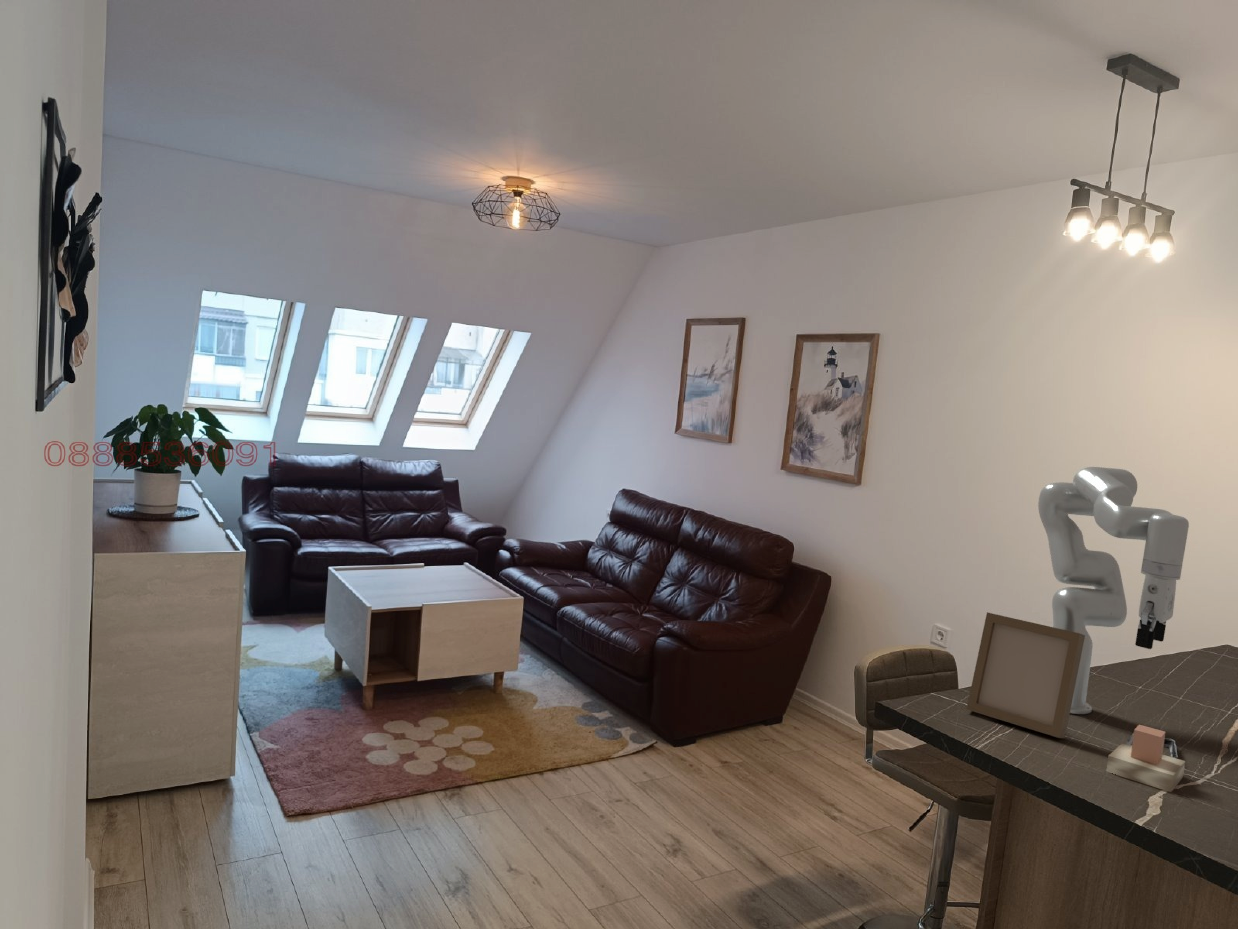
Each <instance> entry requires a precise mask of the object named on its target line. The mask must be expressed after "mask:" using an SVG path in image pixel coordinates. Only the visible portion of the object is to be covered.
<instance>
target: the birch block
mask: <svg viewBox="0 0 1238 929" xmlns="http://www.w3.org/2000/svg"><path fill="white" fill-rule="evenodd" d="M1131 751H1132V745H1129V744H1127V743H1125V742H1121V744H1120V745H1118V746H1117V747H1116V748H1115V749H1114V750H1112V751H1111V753H1110V754H1108V756H1107V764H1106V770H1105V771H1107V772H1106V773H1109V774H1112V773H1113V774H1112V775H1115V774H1116V775H1115V776H1118V777H1121V778H1125V779H1128V780H1132V781H1134V782H1138V783H1141V784H1144V785H1147V786H1151V787H1153V788H1157V789H1160V790H1163V791H1166V792H1168V793H1169V792H1170V793H1171V792H1173V790H1174V789H1175V788H1176V787H1177V785H1178V784H1179V783H1180V782H1181V781H1182V779H1183V778H1184V774H1185V773H1184V772H1185V766H1186V760H1183V759H1179V758H1173V757H1171V755H1169V756H1168V755H1165V754H1162V759H1161V761H1160V762H1159V764H1158V765H1156V764H1153V763H1149V762H1146V761H1143V760H1139V759H1136V758H1132V757H1131Z"/></svg>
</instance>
